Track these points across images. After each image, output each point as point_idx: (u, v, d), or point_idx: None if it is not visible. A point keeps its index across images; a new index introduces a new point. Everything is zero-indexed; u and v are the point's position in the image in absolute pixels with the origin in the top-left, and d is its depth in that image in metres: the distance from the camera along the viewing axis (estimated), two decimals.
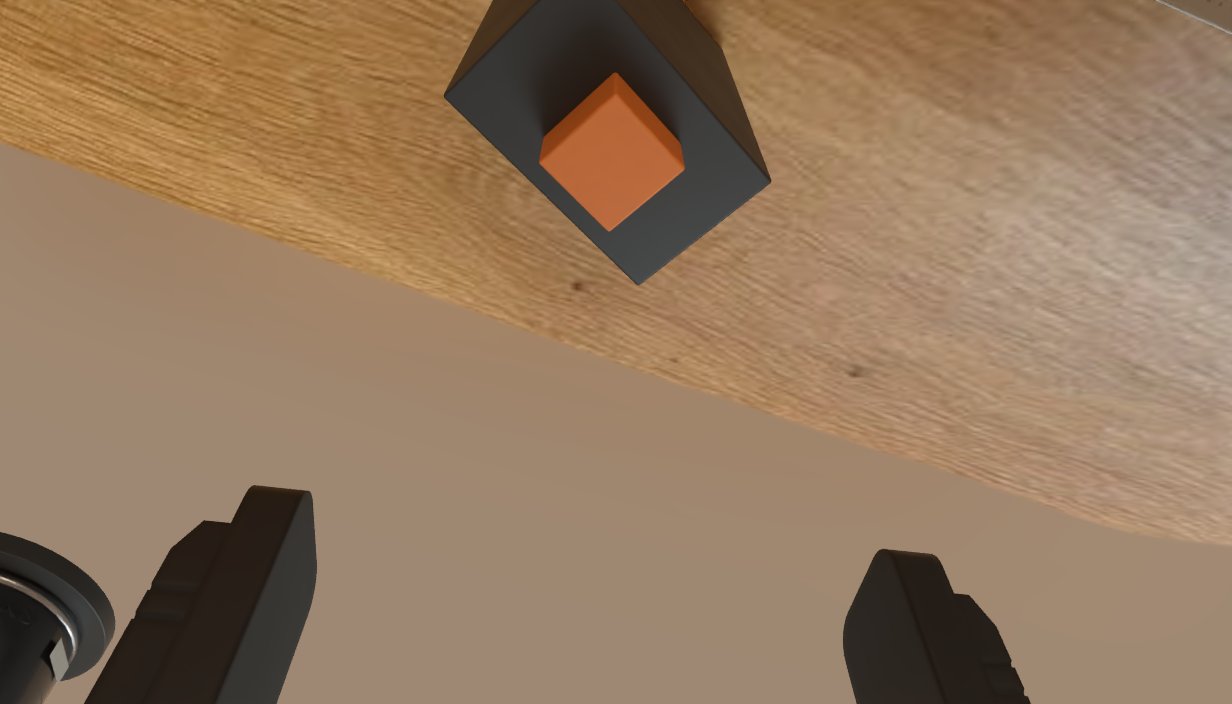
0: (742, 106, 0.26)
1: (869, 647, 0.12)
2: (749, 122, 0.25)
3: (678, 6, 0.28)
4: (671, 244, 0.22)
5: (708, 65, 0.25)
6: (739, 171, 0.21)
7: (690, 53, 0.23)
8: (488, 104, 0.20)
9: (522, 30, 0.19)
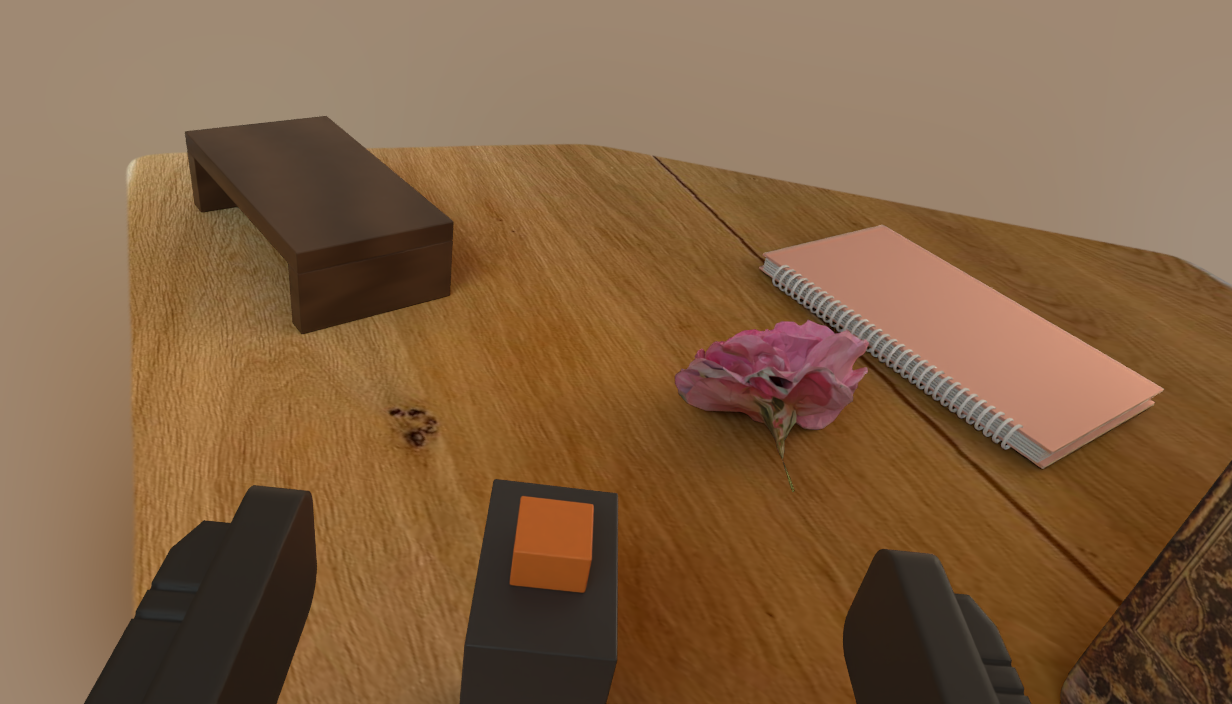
0: None
1: (868, 647, 0.12)
2: None
3: None
4: (517, 639, 0.25)
5: None
6: (603, 636, 0.26)
7: None
8: (510, 497, 0.30)
9: (562, 490, 0.31)
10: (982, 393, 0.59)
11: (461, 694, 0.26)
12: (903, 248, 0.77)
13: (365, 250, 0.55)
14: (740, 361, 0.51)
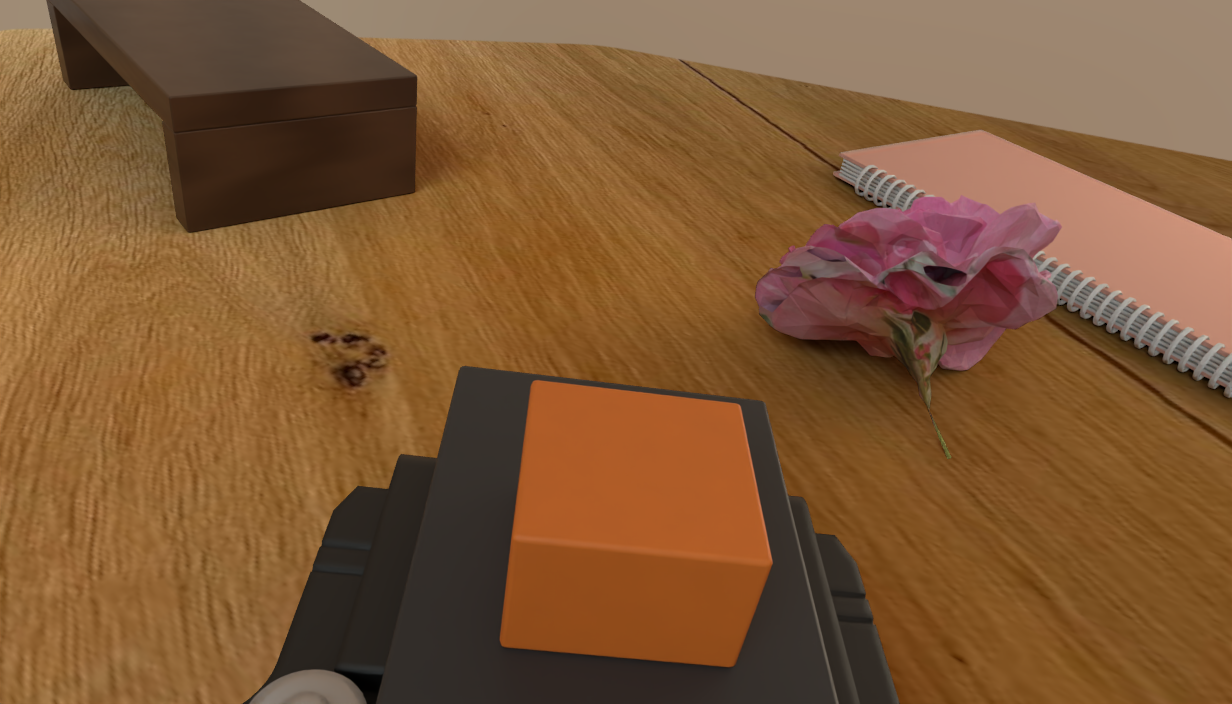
0: None
1: None
2: None
3: None
4: None
5: None
6: None
7: None
8: (500, 406, 0.12)
9: None
10: (1183, 319, 0.41)
11: None
12: (1015, 154, 0.59)
13: (282, 105, 0.37)
14: (863, 255, 0.32)
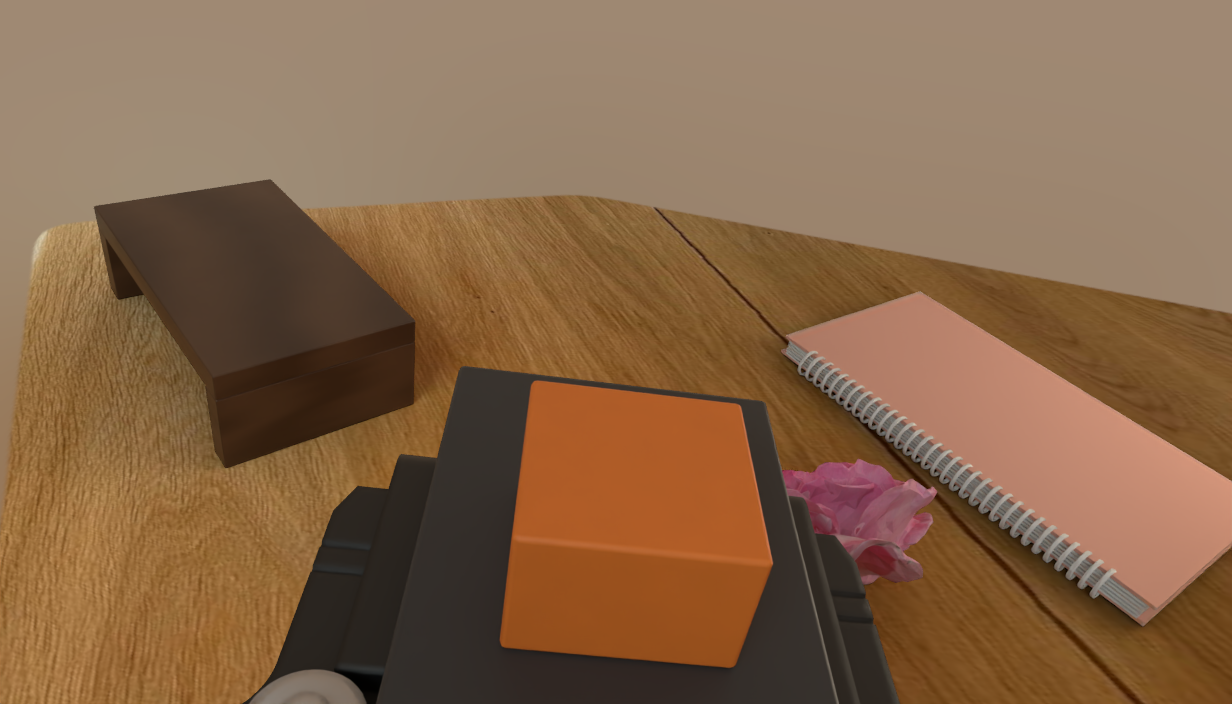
0: None
1: None
2: None
3: None
4: None
5: None
6: None
7: None
8: (501, 406, 0.12)
9: None
10: (1062, 523, 0.49)
11: None
12: (946, 322, 0.66)
13: (303, 364, 0.45)
14: None
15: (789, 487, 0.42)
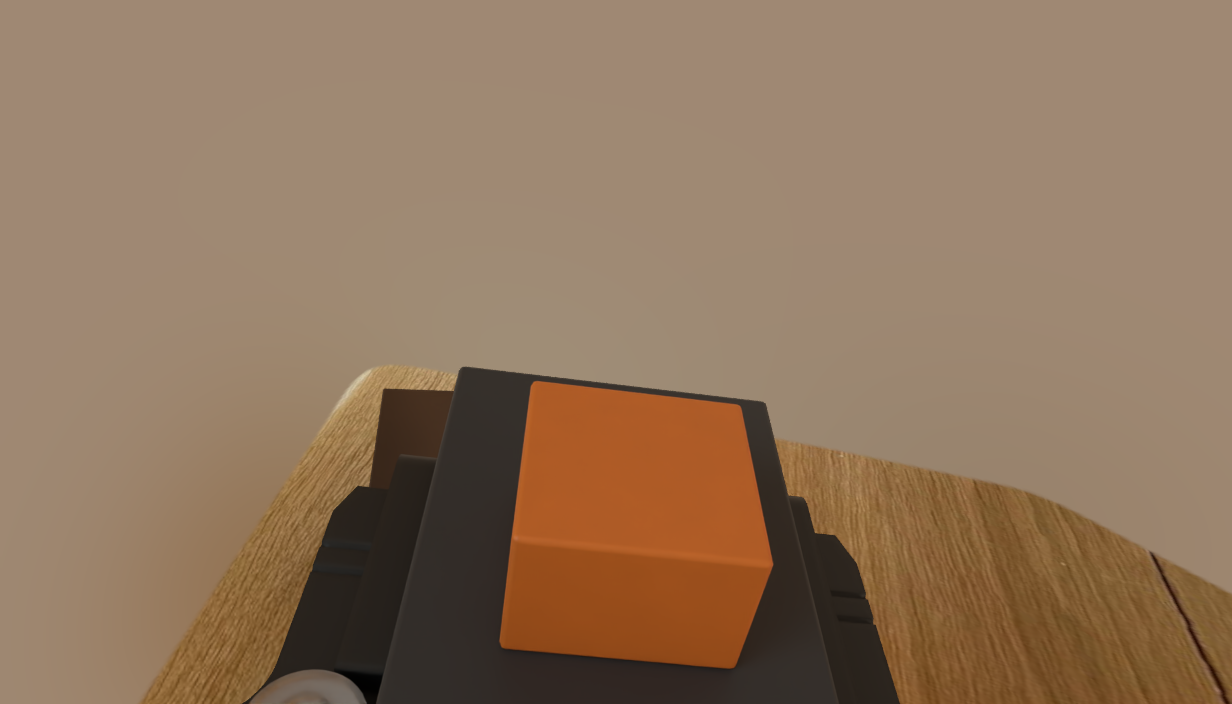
0: None
1: None
2: None
3: None
4: None
5: None
6: None
7: None
8: (500, 406, 0.12)
9: None
10: None
11: None
12: None
13: None
14: None
15: None
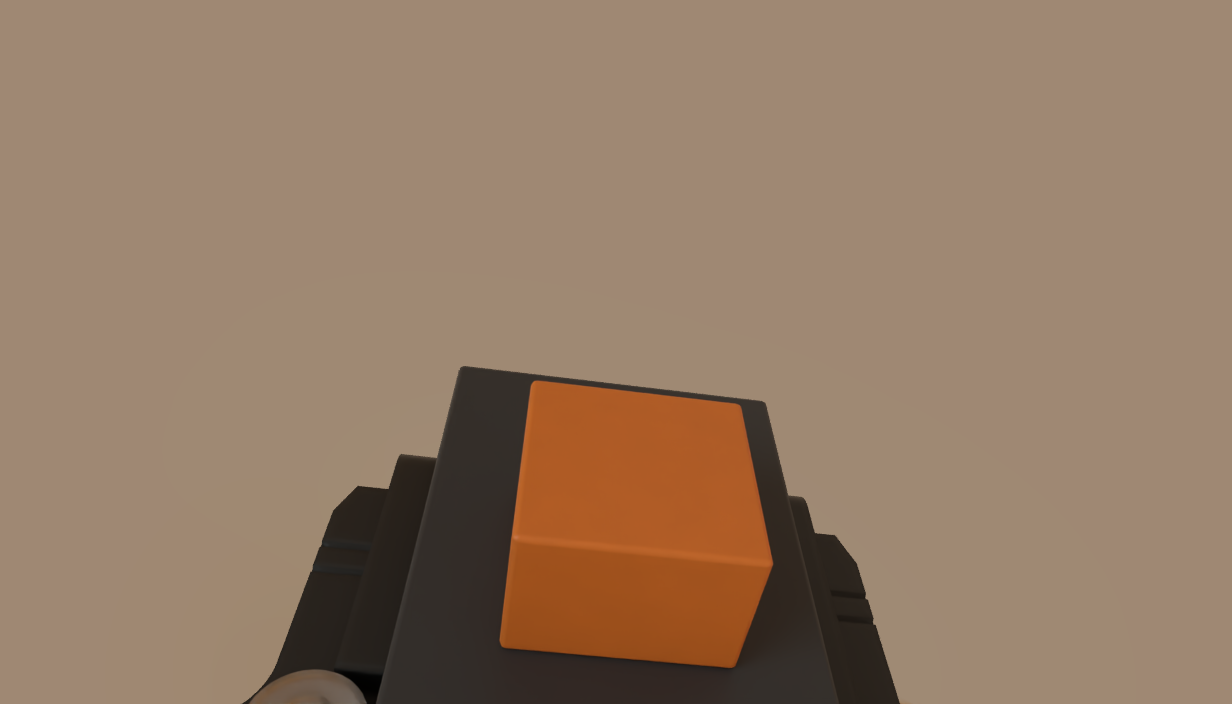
0: None
1: None
2: None
3: None
4: None
5: None
6: None
7: None
8: (500, 406, 0.12)
9: None
10: None
11: None
12: None
13: None
14: None
15: None
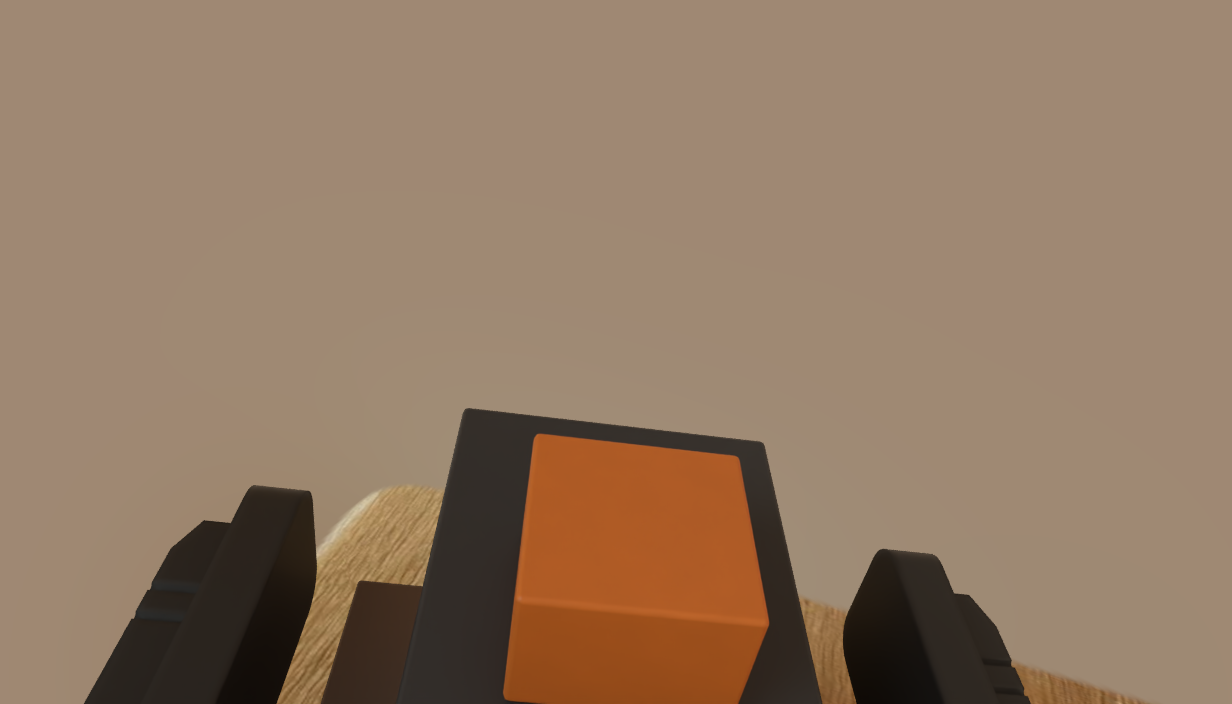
0: None
1: (869, 647, 0.12)
2: None
3: None
4: None
5: None
6: None
7: None
8: (503, 450, 0.12)
9: (632, 435, 0.12)
10: None
11: None
12: None
13: None
14: None
15: None
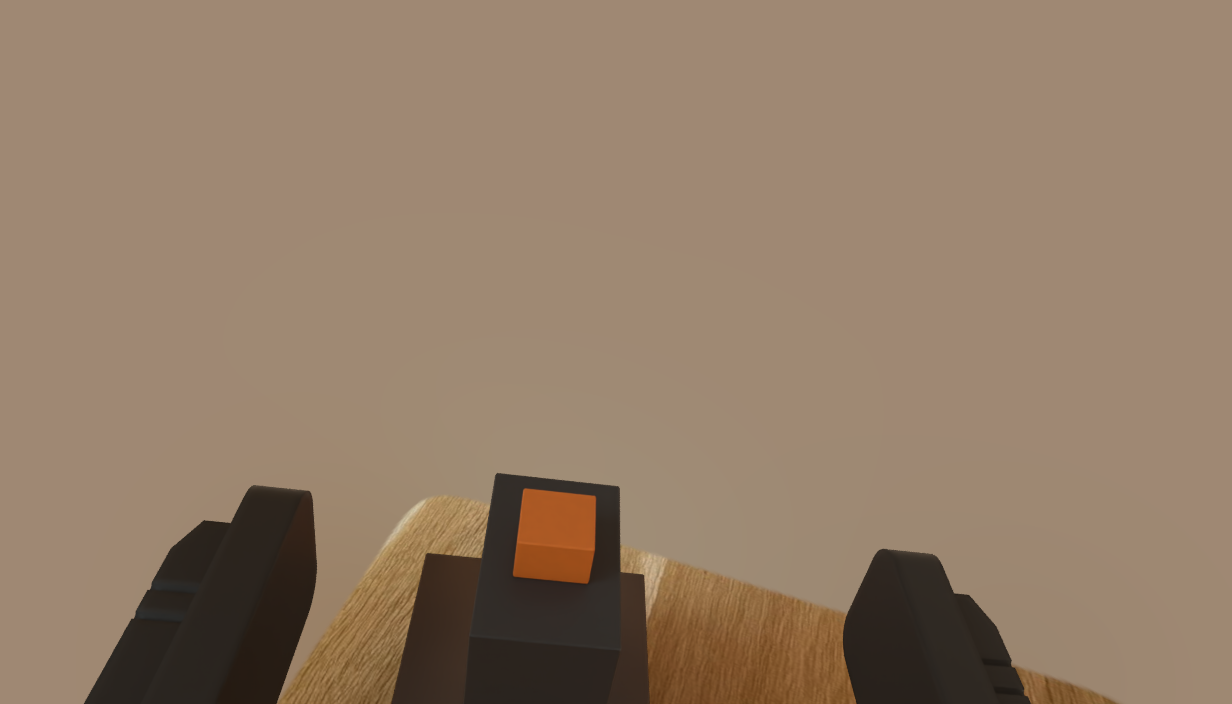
0: None
1: (868, 646, 0.12)
2: None
3: None
4: (521, 630, 0.25)
5: None
6: (606, 626, 0.26)
7: None
8: (512, 491, 0.30)
9: (564, 484, 0.31)
10: None
11: (465, 686, 0.26)
12: None
13: None
14: None
15: None
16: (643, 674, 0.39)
